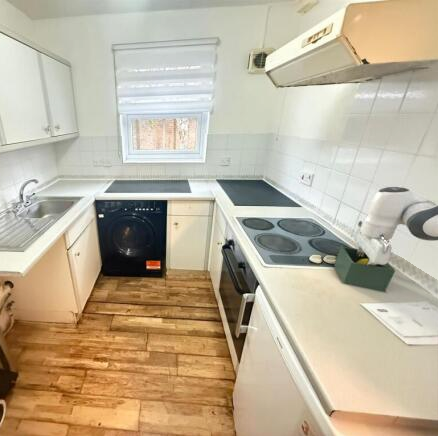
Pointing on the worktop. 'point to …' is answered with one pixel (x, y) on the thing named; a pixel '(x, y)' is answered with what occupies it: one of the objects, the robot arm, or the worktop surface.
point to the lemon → (363, 261)
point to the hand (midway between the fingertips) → (363, 261)
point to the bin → (362, 271)
